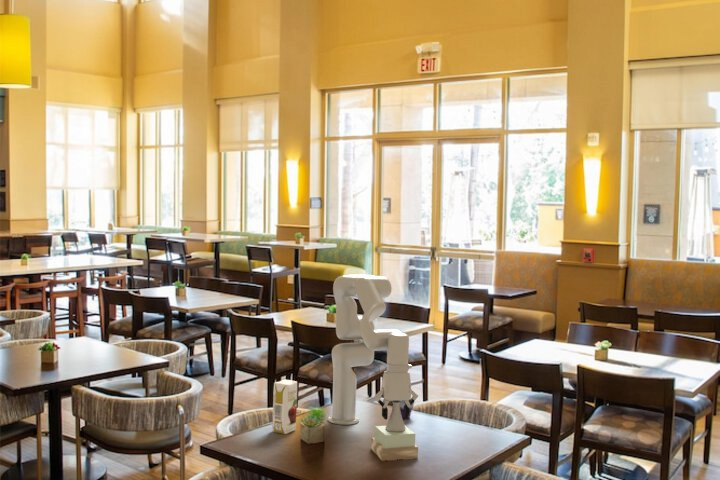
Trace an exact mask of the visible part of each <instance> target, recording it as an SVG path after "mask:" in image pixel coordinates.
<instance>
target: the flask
mask: <svg viewBox="0 0 720 480" xmlns="http://www.w3.org/2000/svg"><path fill="white" fill-rule="evenodd" d="M391 403H392V407H391V412H390V415H389V419H387V423H386V425H385V426H386V429H387V430H388V431H393V432H402V431H404V430H405V429H406V428H405V426H406V425H405V422H404V420H403V419H402V415H401V411H400V404H401V401H391Z"/></svg>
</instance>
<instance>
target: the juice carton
mask: <svg viewBox="0 0 720 480" xmlns="http://www.w3.org/2000/svg"><path fill="white" fill-rule="evenodd" d="M272 396H273V397H272V398H273V399H272V432H273V433H277V434H283V435H287V434H290V433H292V432H294V431H296V428H297V413H298V412H297V408H298V407H297V406H298V405H297V404H298V403H297V401H298V381H297V380H296V381H295V380H292V379H285V378H284V379H282V380H279V381H275V382H273V395H272Z"/></svg>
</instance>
